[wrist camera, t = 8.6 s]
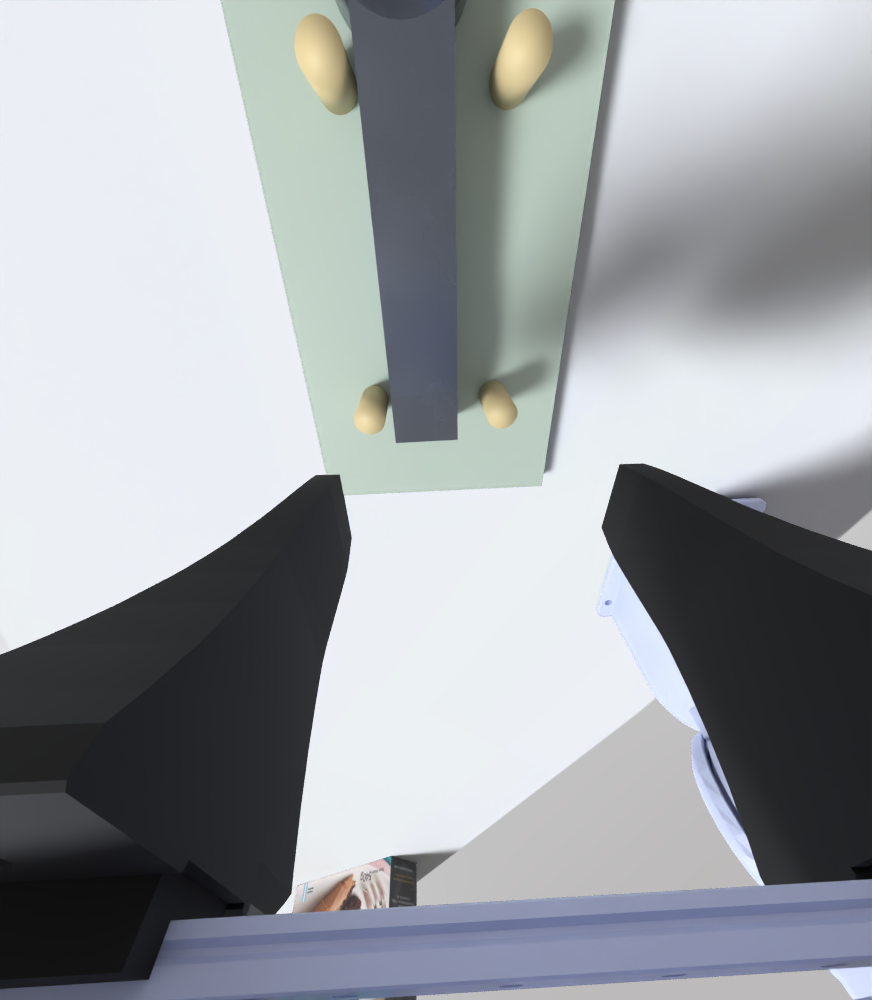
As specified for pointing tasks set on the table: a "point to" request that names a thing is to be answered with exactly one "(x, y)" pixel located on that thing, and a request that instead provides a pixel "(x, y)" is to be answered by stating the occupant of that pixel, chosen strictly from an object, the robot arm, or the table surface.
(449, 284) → the dark grey spoon shape
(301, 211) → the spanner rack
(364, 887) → the cake mix box
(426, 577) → the table surface
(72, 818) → the robot arm
